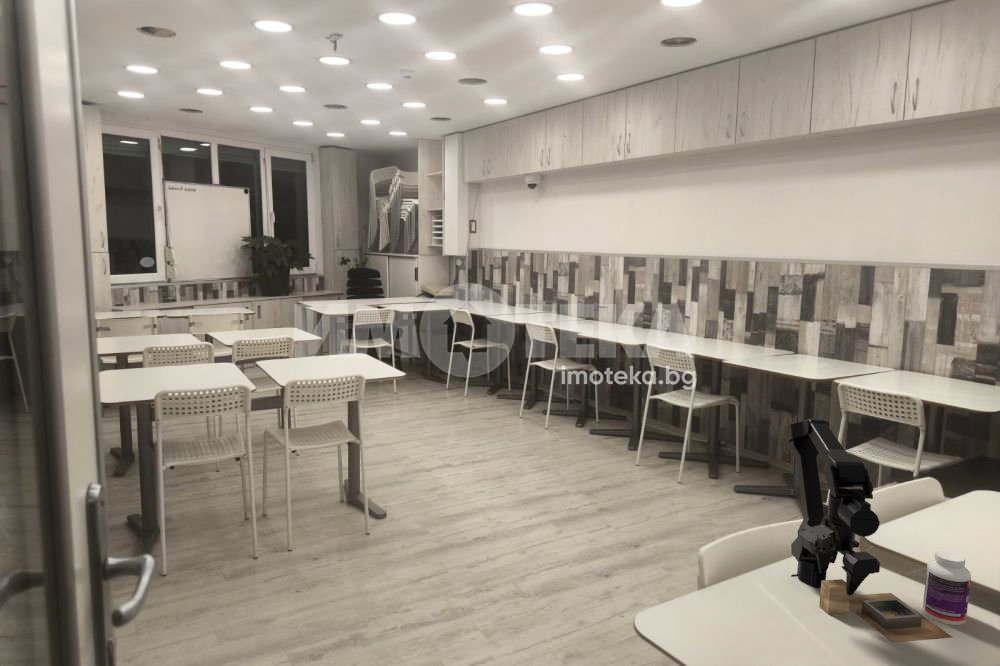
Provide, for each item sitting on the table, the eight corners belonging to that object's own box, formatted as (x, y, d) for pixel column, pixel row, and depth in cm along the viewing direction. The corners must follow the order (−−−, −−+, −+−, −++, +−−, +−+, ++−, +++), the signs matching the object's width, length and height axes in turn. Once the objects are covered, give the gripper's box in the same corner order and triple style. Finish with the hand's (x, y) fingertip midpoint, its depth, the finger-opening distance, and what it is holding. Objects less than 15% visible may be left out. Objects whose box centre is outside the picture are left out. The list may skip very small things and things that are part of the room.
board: (835, 599, 157) (835, 596, 157) (890, 595, 160) (890, 592, 160) (891, 645, 140) (892, 642, 140) (952, 640, 142) (953, 637, 142)
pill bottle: (972, 630, 146) (980, 566, 144) (930, 625, 148) (937, 562, 146) (955, 610, 154) (962, 549, 152) (916, 606, 155) (922, 545, 153)
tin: (861, 610, 151) (862, 600, 151) (895, 608, 153) (896, 598, 152) (885, 629, 144) (886, 619, 144) (920, 626, 146) (922, 616, 145)
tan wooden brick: (818, 610, 153) (821, 580, 152) (839, 608, 154) (842, 579, 153) (827, 617, 150) (830, 587, 149) (848, 616, 151) (850, 585, 150)
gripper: (783, 501, 157) (778, 566, 159) (835, 537, 138) (828, 609, 141) (828, 499, 158) (822, 563, 161) (885, 534, 140) (877, 605, 142)
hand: (835, 584), depth 151 cm, fingers open, 9 cm apart
